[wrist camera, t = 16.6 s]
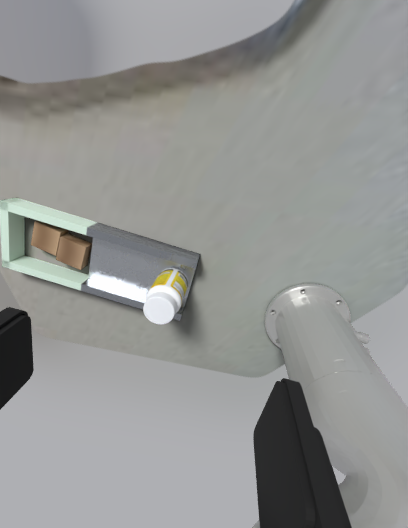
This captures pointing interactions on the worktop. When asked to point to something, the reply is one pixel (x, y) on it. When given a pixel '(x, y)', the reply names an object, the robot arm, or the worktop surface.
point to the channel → (132, 265)
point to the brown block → (73, 251)
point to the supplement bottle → (165, 296)
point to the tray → (13, 240)
